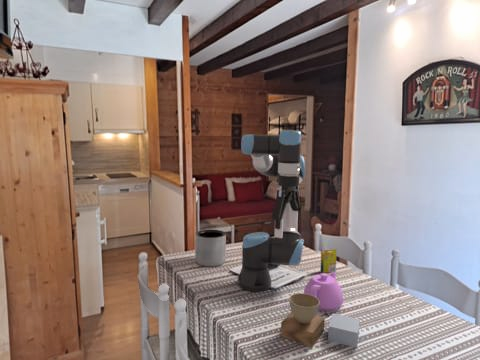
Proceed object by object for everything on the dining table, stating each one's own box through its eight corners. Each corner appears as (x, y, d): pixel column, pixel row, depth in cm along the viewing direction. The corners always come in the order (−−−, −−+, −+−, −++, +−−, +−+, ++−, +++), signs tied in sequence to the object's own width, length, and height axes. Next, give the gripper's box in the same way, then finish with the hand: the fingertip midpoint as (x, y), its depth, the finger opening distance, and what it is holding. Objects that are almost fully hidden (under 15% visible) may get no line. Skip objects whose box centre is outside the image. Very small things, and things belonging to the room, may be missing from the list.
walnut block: (280, 336, 112) (281, 322, 112) (294, 321, 121) (295, 308, 121) (312, 347, 106) (312, 333, 106) (323, 331, 115) (324, 317, 115)
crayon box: (332, 269, 171) (333, 247, 170) (336, 271, 168) (337, 249, 167) (319, 270, 169) (321, 248, 167) (323, 273, 166) (324, 250, 164)
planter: (231, 260, 180) (232, 232, 178) (213, 270, 166) (213, 239, 164) (207, 254, 188) (208, 227, 186) (188, 263, 175) (188, 234, 173)
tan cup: (318, 330, 107) (320, 308, 107) (287, 325, 109) (288, 305, 108) (318, 314, 117) (319, 294, 116) (289, 310, 119) (290, 291, 118)
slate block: (328, 340, 110) (328, 326, 110) (332, 326, 119) (332, 313, 118) (356, 347, 107) (357, 333, 106) (358, 333, 115) (359, 319, 114)
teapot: (330, 320, 123) (332, 289, 121) (292, 306, 132) (293, 277, 131) (351, 298, 140) (353, 270, 139) (316, 287, 149) (317, 261, 148)
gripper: (284, 180, 106) (281, 244, 110) (310, 171, 127) (308, 225, 131) (262, 177, 110) (261, 239, 114) (292, 169, 131) (290, 222, 135)
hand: (286, 232), depth 122 cm, fingers open, 13 cm apart
